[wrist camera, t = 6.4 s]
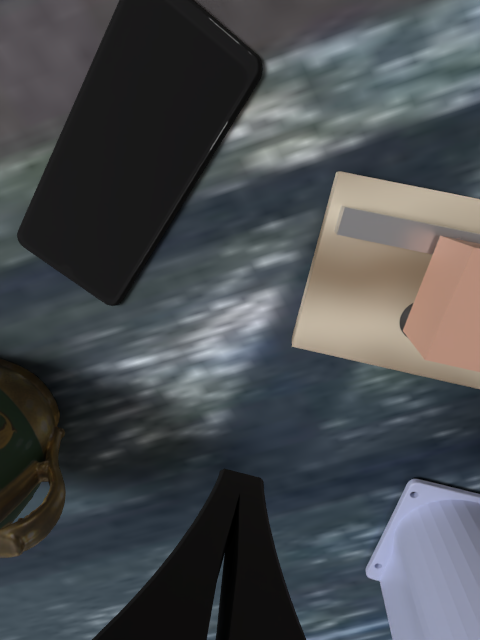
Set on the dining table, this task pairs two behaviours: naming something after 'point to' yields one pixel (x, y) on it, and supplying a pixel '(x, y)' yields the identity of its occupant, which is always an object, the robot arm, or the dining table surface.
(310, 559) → the dining table surface
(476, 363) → the brownish pink rectangular block
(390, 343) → the hole plate
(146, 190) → the smartphone
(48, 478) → the cup
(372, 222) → the divider bar
